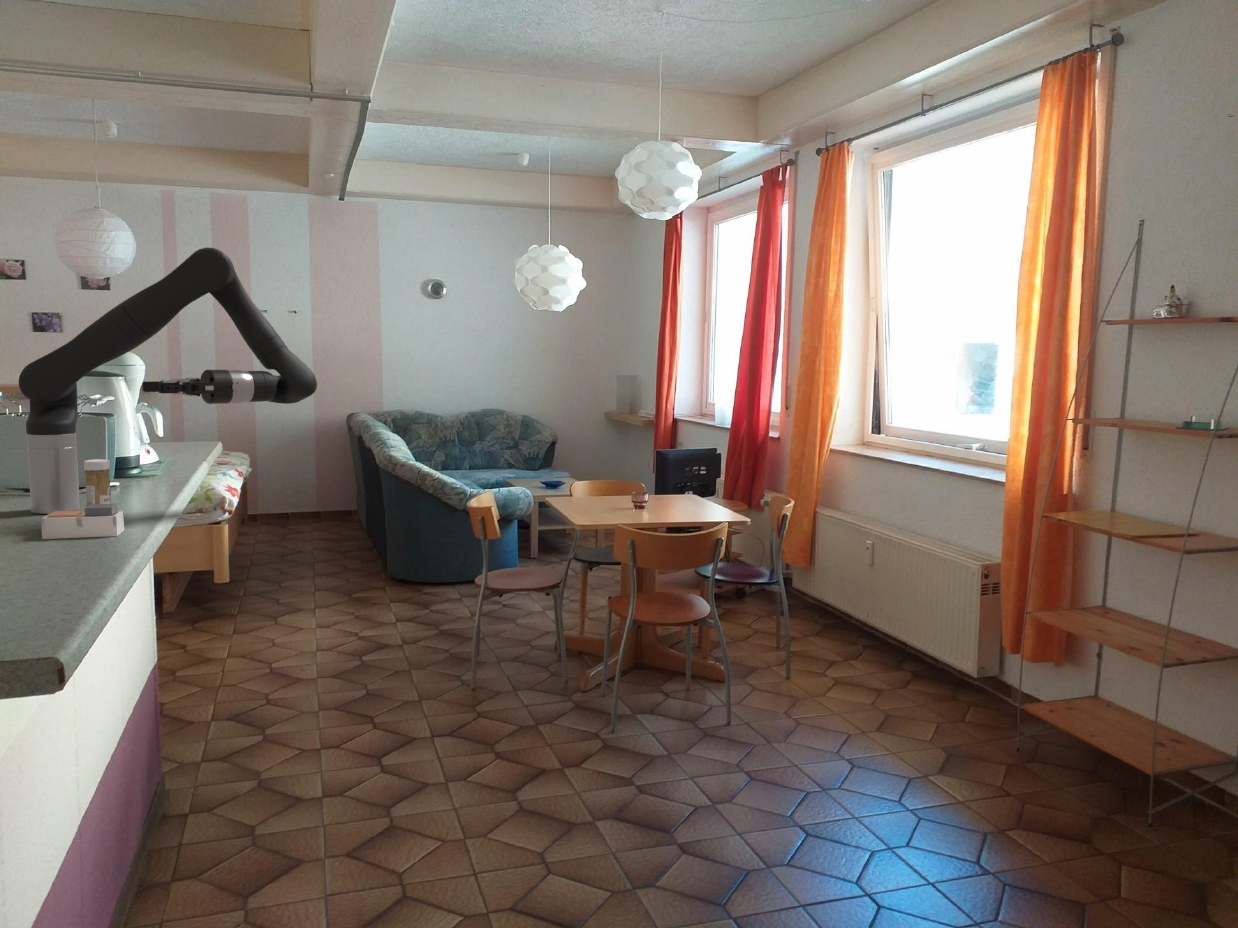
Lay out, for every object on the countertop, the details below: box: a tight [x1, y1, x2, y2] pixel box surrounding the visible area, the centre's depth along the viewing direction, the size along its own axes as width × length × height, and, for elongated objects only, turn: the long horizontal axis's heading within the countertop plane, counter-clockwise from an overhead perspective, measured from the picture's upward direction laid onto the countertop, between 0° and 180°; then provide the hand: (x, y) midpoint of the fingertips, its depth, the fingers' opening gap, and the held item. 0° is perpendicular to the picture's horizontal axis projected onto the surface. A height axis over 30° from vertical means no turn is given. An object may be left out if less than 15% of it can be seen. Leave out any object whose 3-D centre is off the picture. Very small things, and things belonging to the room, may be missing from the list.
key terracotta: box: [47, 509, 83, 518], centre depth 174 cm, size 5×5×2 cm
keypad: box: [40, 510, 125, 540], centre depth 175 cm, size 6×13×4 cm, turn 108°
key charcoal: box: [84, 503, 118, 517], centre depth 176 cm, size 5×5×2 cm
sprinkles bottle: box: [83, 458, 112, 507], centre depth 184 cm, size 5×5×14 cm
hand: (150, 387), depth 189 cm, fingers open, 8 cm apart
